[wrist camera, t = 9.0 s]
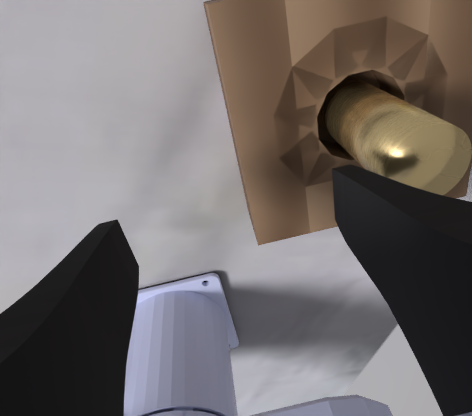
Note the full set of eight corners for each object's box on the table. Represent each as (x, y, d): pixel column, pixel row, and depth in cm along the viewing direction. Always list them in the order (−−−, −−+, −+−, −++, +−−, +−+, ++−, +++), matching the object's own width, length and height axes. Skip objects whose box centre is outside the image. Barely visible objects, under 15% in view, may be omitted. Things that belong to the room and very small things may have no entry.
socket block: (248, 212, 23) (258, 245, 20) (203, 2, 17) (207, 4, 14) (429, 169, 23) (465, 195, 20) (452, -57, 17) (510, -68, 14)
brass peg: (317, 137, 20) (386, 212, 13) (311, 83, 18) (386, 137, 12) (369, 124, 20) (466, 192, 13) (368, 68, 18) (477, 113, 11)
